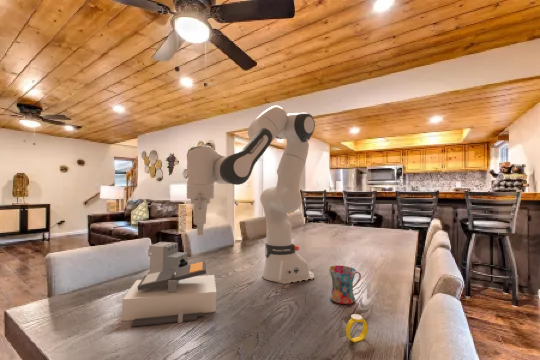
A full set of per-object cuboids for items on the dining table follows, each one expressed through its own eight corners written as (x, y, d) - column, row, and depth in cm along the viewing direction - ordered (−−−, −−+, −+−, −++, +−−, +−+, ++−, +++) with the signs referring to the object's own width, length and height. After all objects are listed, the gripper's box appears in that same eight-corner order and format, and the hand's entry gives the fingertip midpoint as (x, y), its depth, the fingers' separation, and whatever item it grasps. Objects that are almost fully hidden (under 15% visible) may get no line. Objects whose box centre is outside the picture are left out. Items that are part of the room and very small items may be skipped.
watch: (351, 347, 63) (350, 322, 63) (344, 340, 65) (343, 317, 65) (370, 339, 65) (369, 316, 65) (362, 334, 68) (361, 311, 68)
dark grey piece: (204, 314, 77) (204, 308, 77) (204, 320, 74) (204, 313, 74) (133, 322, 72) (133, 315, 72) (130, 328, 69) (130, 321, 69)
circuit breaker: (180, 287, 98) (181, 247, 98) (147, 284, 100) (148, 245, 101) (190, 280, 105) (191, 243, 105) (159, 277, 108) (160, 241, 108)
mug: (337, 308, 83) (337, 274, 83) (323, 296, 92) (323, 266, 92) (369, 303, 86) (369, 271, 87) (352, 293, 95) (352, 264, 95)
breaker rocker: (206, 264, 91) (205, 260, 91) (206, 274, 81) (205, 269, 81) (145, 279, 86) (144, 274, 86) (138, 291, 76) (137, 286, 76)
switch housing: (213, 291, 94) (214, 265, 95) (215, 311, 79) (216, 279, 79) (136, 297, 88) (137, 269, 88) (121, 321, 72) (123, 286, 73)
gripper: (210, 194, 77) (210, 240, 77) (209, 192, 97) (209, 229, 97) (188, 194, 76) (188, 241, 76) (192, 192, 96) (192, 230, 95)
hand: (200, 234), depth 86 cm, fingers closed
